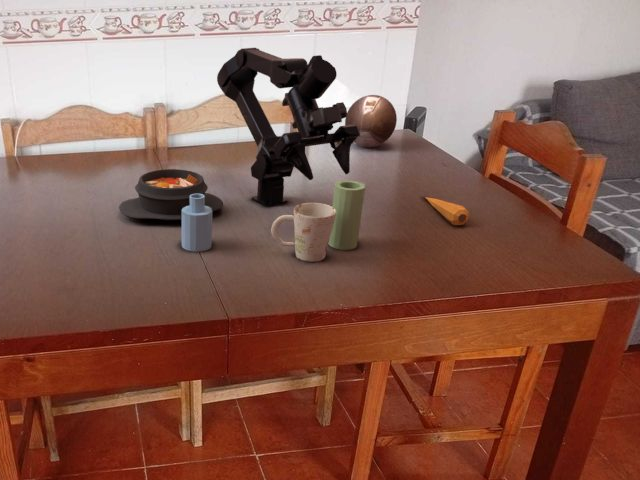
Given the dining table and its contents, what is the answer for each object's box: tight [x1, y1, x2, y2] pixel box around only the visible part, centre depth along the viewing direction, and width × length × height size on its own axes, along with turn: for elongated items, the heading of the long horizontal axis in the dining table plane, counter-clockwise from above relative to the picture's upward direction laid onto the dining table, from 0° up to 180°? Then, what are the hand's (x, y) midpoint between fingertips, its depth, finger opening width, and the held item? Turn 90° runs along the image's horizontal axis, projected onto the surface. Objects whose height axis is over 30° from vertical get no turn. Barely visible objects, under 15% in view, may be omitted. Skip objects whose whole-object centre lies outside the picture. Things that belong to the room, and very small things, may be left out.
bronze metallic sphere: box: [344, 94, 398, 148], centre depth 210 cm, size 15×15×15 cm
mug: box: [270, 202, 336, 263], centre depth 142 cm, size 8×13×10 cm, turn 78°
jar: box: [328, 180, 366, 251], centre depth 146 cm, size 6×6×13 cm
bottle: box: [181, 194, 213, 253], centre depth 146 cm, size 6×6×11 cm
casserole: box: [118, 168, 224, 222], centre depth 164 cm, size 25×19×8 cm
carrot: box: [424, 196, 470, 226], centre depth 165 cm, size 20×4×4 cm, turn 6°
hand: (329, 176), depth 148 cm, fingers open, 9 cm apart
